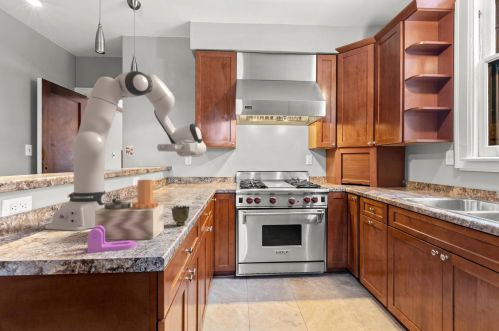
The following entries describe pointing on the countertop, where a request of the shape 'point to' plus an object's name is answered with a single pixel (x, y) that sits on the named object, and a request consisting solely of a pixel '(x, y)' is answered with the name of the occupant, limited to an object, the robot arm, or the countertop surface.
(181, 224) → the cup
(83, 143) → the robot arm
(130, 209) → the gearbox
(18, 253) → the countertop surface
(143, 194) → the orange gear
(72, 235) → the countertop surface
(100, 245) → the bracket
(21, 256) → the countertop surface
